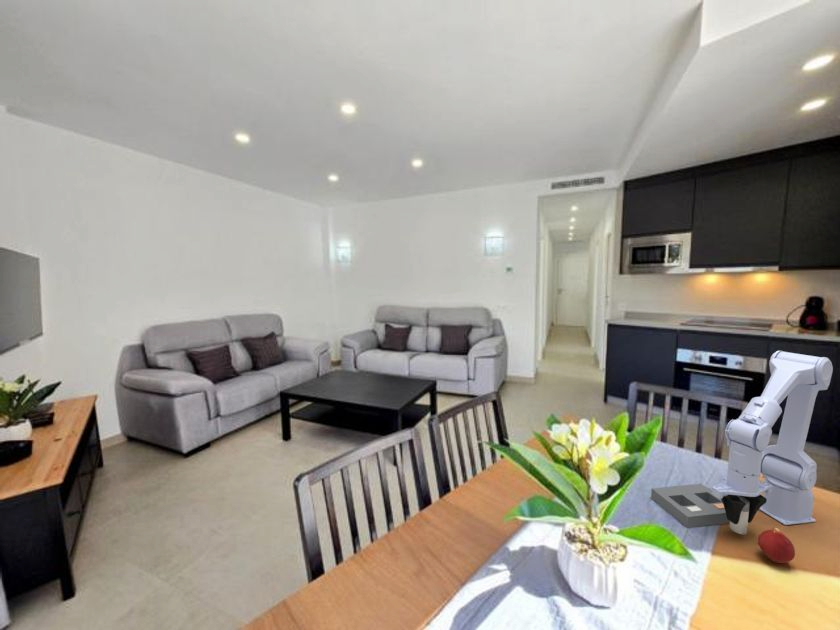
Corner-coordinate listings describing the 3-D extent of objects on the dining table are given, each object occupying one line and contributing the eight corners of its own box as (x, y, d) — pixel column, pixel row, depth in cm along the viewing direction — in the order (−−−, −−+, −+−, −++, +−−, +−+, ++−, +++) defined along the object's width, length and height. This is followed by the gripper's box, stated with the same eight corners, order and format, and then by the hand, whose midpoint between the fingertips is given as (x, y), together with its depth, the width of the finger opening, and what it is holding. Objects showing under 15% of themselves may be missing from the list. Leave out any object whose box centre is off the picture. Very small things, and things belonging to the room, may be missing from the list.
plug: (737, 524, 88) (739, 495, 87) (750, 533, 85) (753, 503, 84) (725, 525, 88) (728, 496, 87) (738, 535, 85) (741, 504, 84)
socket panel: (700, 493, 103) (701, 482, 103) (742, 521, 91) (743, 509, 91) (650, 498, 101) (651, 487, 101) (687, 527, 89) (688, 515, 89)
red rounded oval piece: (782, 554, 80) (786, 522, 79) (800, 575, 75) (804, 541, 74) (751, 548, 82) (754, 517, 81) (765, 568, 77) (769, 535, 76)
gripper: (752, 458, 89) (747, 506, 91) (701, 463, 87) (697, 512, 89) (784, 473, 82) (778, 526, 84) (729, 479, 81) (725, 532, 82)
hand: (738, 520), depth 86 cm, fingers closed on plug, 3 cm apart
